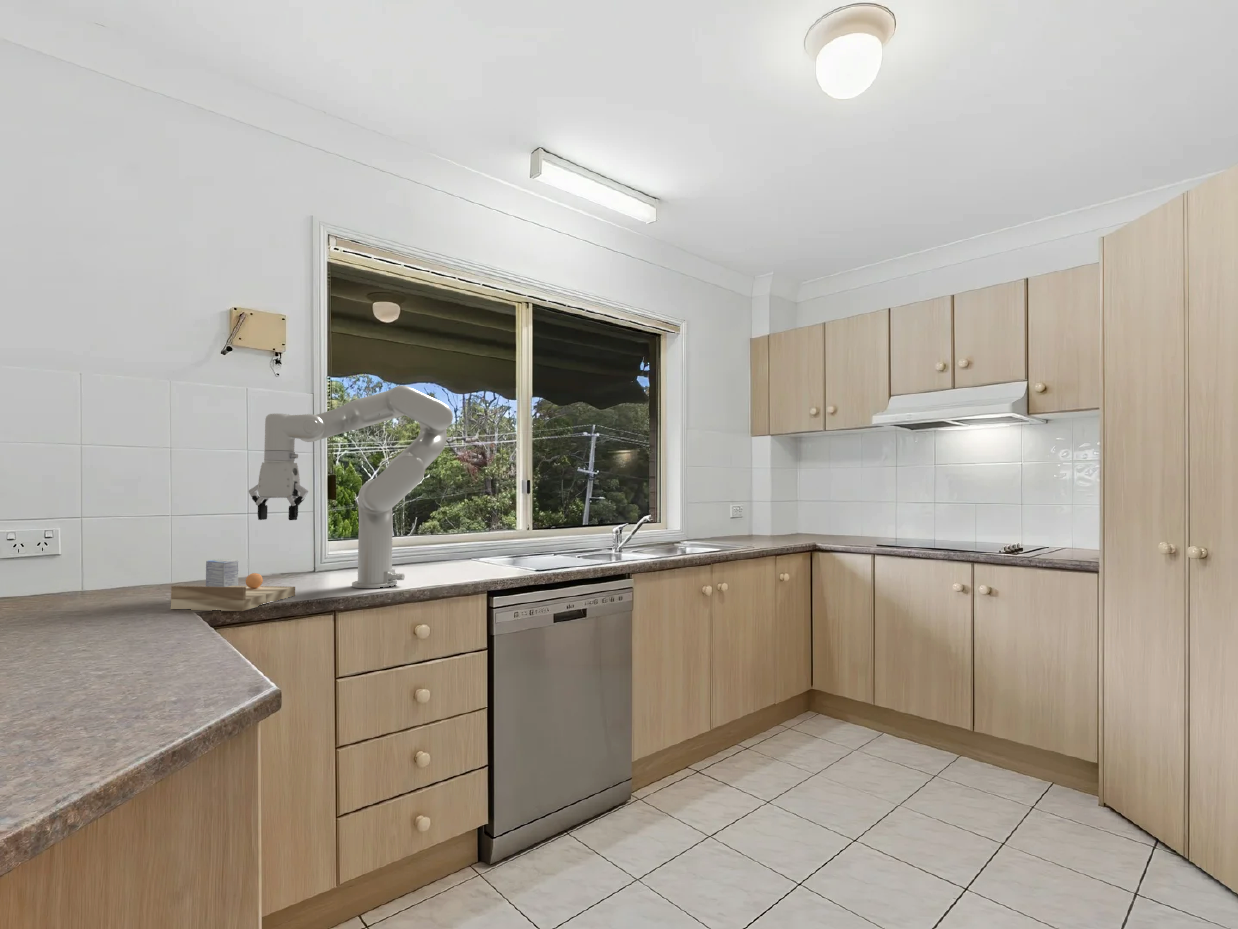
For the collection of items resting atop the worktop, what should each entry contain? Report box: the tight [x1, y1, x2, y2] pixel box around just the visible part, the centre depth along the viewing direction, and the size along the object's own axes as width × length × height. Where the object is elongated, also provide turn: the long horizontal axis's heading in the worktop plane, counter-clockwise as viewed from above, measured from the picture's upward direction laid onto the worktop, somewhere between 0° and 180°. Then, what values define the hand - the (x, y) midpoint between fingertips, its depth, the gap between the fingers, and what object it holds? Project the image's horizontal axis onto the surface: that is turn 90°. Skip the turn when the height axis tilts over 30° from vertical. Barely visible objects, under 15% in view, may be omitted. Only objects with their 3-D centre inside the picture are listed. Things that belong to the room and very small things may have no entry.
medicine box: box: [205, 558, 239, 587], centre depth 187 cm, size 8×4×9 cm, turn 65°
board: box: [170, 585, 296, 612], centre depth 169 cm, size 22×18×6 cm
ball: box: [245, 572, 264, 588], centre depth 176 cm, size 4×4×4 cm
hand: (277, 519), depth 186 cm, fingers open, 8 cm apart
